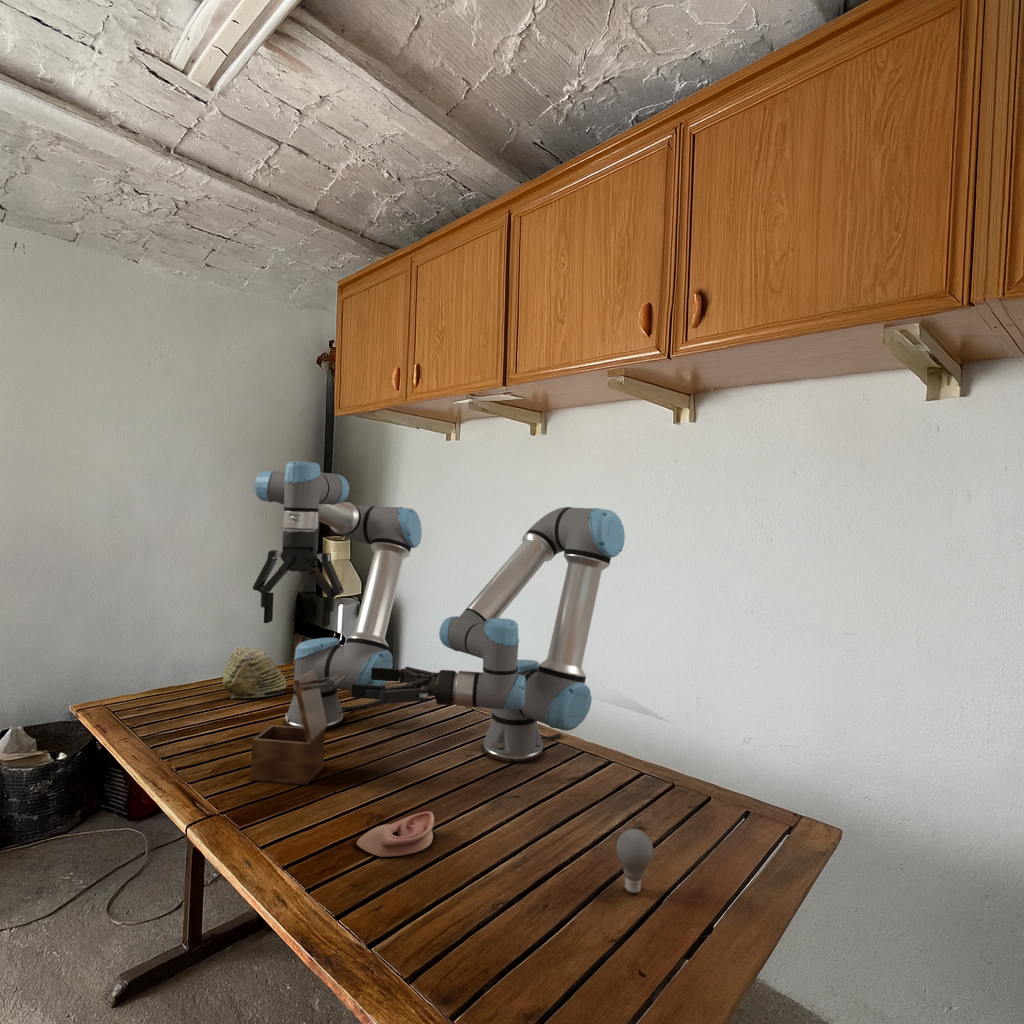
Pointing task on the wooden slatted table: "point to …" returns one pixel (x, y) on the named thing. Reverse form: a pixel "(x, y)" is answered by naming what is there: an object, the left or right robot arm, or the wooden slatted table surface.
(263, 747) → the chest
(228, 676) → the fossil
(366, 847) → the anatomical model
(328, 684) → the lid
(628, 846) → the light bulb
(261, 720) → the wooden slatted table surface
